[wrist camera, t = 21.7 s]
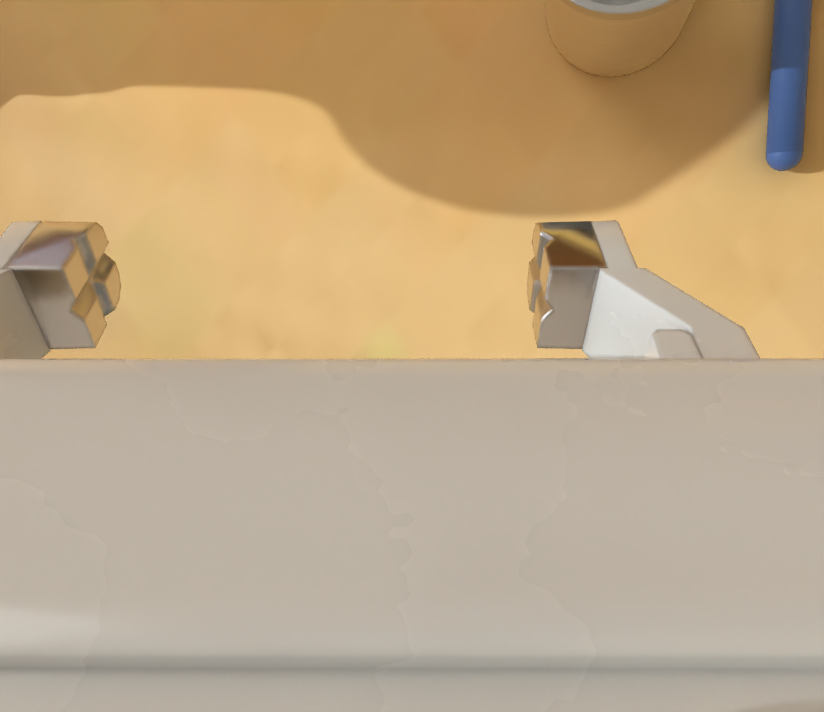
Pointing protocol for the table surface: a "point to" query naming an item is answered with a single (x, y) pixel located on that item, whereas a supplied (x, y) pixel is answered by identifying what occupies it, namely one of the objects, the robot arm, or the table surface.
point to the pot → (615, 32)
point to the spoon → (788, 83)
